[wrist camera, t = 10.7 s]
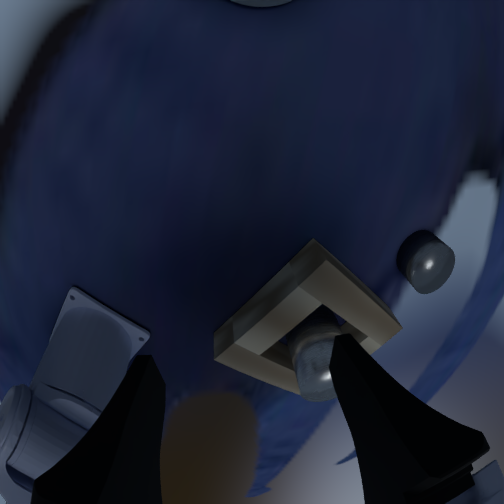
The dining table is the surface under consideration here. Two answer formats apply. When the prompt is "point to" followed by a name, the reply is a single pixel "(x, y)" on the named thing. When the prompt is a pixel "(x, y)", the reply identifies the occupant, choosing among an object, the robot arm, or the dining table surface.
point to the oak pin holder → (300, 316)
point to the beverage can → (261, 2)
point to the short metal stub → (425, 261)
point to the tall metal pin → (314, 353)
